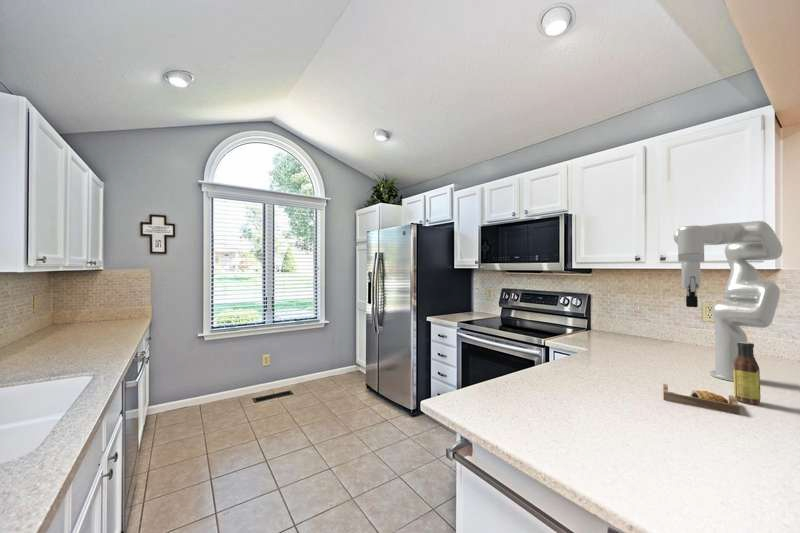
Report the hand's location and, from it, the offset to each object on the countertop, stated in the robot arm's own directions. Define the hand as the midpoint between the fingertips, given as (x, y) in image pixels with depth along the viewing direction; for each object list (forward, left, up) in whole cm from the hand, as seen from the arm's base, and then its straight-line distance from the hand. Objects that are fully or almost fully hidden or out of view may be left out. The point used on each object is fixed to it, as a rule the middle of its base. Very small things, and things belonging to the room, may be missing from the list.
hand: (691, 306), depth 128 cm
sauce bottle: (+7, +14, -31) cm, 34 cm away
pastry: (+16, +3, -31) cm, 35 cm away
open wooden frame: (+18, +1, -30) cm, 35 cm away
